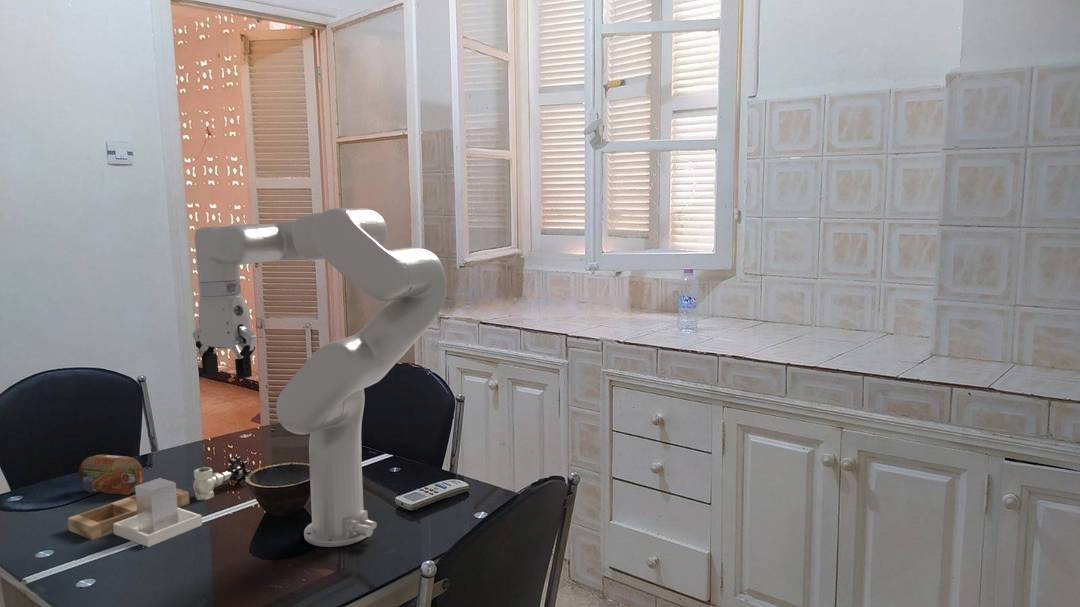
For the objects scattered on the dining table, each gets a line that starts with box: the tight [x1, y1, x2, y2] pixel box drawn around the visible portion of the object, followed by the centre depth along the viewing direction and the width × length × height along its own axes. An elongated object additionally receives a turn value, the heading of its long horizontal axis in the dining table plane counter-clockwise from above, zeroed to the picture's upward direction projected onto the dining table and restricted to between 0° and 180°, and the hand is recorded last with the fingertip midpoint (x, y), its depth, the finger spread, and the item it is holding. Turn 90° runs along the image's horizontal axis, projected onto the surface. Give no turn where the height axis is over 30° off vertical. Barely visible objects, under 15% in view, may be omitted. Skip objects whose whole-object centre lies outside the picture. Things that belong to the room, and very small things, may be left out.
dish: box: [113, 507, 203, 548], centre depth 145 cm, size 11×11×2 cm
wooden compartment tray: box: [67, 487, 190, 540], centre depth 151 cm, size 8×20×3 cm, turn 149°
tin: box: [78, 454, 145, 496], centre depth 165 cm, size 15×3×8 cm, turn 76°
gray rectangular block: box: [135, 477, 178, 534], centre depth 145 cm, size 5×5×9 cm
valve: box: [192, 455, 252, 501], centre depth 164 cm, size 7×7×12 cm
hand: (227, 376), depth 149 cm, fingers open, 9 cm apart
